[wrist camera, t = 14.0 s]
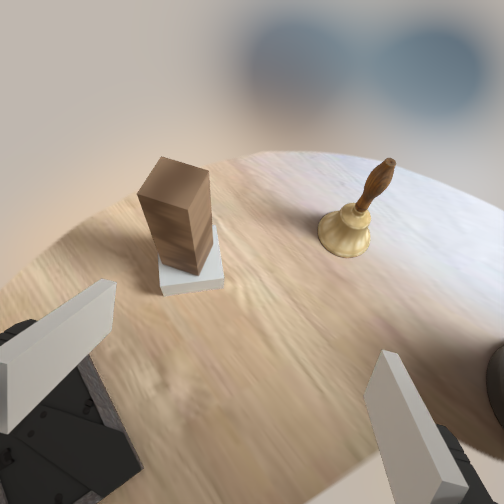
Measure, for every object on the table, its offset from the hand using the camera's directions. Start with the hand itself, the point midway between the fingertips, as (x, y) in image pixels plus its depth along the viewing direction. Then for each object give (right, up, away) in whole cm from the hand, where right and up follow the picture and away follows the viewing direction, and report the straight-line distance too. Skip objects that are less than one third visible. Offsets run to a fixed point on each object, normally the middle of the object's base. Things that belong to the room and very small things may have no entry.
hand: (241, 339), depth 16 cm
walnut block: (-8, +4, +27) cm, 29 cm away
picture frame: (-22, -16, +21) cm, 34 cm away
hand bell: (+15, +7, +36) cm, 40 cm away
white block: (-8, +2, +31) cm, 32 cm away
